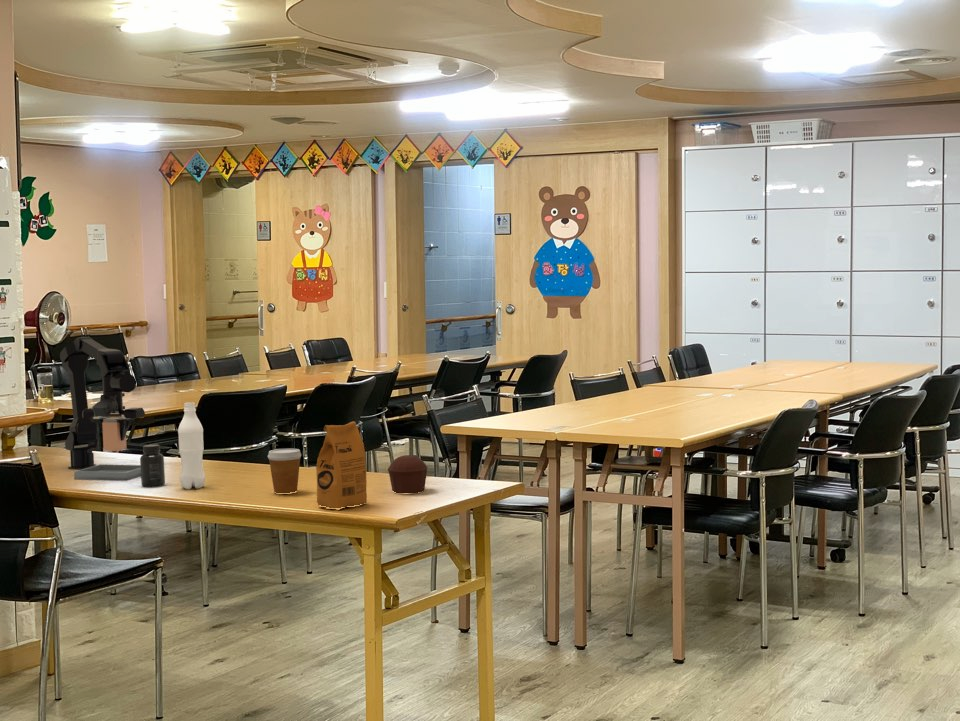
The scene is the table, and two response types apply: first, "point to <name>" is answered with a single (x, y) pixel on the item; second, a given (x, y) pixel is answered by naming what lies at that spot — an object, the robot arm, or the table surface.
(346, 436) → the coffee package
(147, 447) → the supplement bottle
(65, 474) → the table surface
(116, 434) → the tall box
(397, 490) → the muffin
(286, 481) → the disposable coffee cup
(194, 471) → the water bottle
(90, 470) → the tray
